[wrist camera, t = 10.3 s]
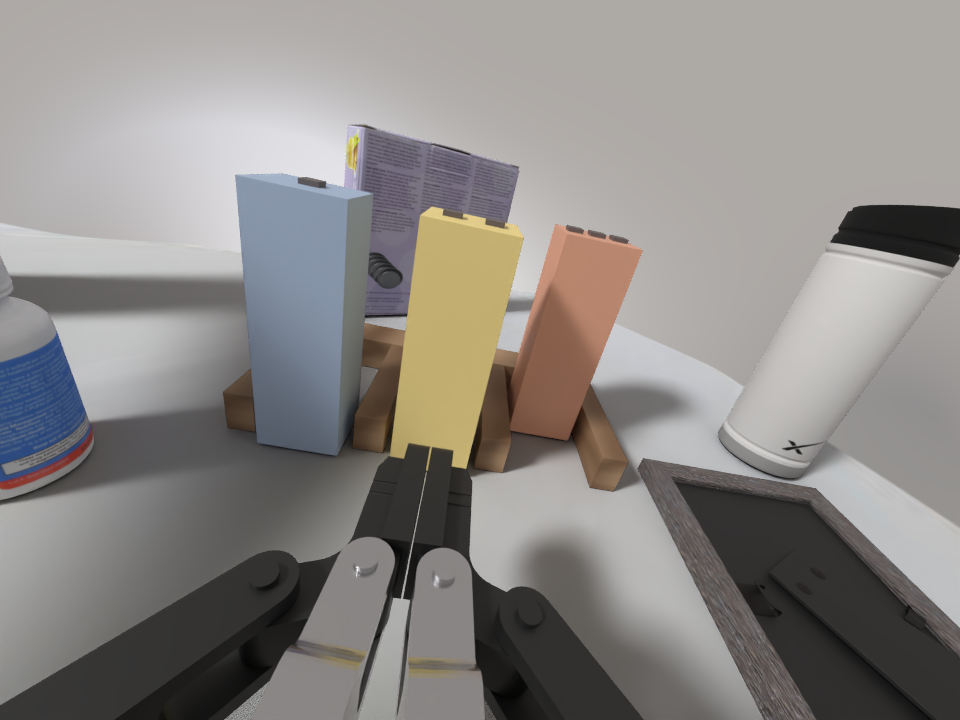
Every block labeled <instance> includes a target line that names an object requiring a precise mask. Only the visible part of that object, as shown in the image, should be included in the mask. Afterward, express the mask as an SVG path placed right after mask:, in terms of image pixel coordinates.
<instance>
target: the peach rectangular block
mask: <svg viewBox="0 0 960 720" xmlns="http://www.w3.org/2000/svg"><path fill="white" fill-rule="evenodd" d="M641 254H642V250H641V249H639V248H637V247H635V246H633V245H631V244H629V243H628V240H627V239H625V238H623V237H618V236H614V235H610V236H606V235H605V234H603V233H601V232H596V231H592V230H588V231H584V230H583V229H581V228H578V227H574V226H569V225H567V226H566V227H565V226H561V225H555V227H554V231H553V235H552V238H551V241H550V245H549V248H548V252H547V255H546V259H545V262H544V266H543V270H542V273H541V277H540V280H539V284H538V287H537V291H536V294H535V298H534V301H533V305H532V308H531V312H530V316H529V319H528V323H527V326H526V330H525V333H524V337H523V340H522V344H521V347H520V351H519V354H518V358H517V362H516V365H515V369H514V372H513V376H512V379H511V383H510V386H509V390H508V393H507V399H508V409H509V420H510V430H511V431H515V432H521V433H527V434H532V435H538V436H544V437H550V438H555V439H561V440H567V441H568V439H569V436H570V433H571V431H572V428H573V426H574V423H575V421H576V418H577V416H578V413H579V411H580V408H581V406H582V403H583V401H584V398H585V396H586V393H587V390H588V388H589V385H590V383H591V380H592V378H593V375H594V373H595V370H596V368H597V365H598V363H599V360H600V358H601V355H602V353H603V350H604V347H605V345H606V342H607V340H608V337H609V335H610V332H611V330H612V327H613V325H614V322H615V320H616V317H617V315H618V312H619V310H620V307H621V304H622V302H623V299H624V297H625V294H626V292H627V289H628V287H629V284H630V282H631V279H632V277H633V274H634V271H635V269H636V267H637V264H638V262H639V259H640V256H641Z"/></svg>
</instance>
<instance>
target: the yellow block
mask: <svg viewBox="0 0 960 720" xmlns="http://www.w3.org/2000/svg"><path fill="white" fill-rule="evenodd" d="M523 240H524V237H523V235H522V234H521V232H520V230H519V228H518V226H517V225H513V224H508V223H505V221H502V220H498V219H493V218H489V217H486V218H481V217H477V216H472V215H468V214H464V212H462V211H457V210H453V209H448V208H445V209H441V208H436V207H431V208H429V209H428V210H427V211H425V212H424V213H422V214H421V215H420V219H419V227H418V235H417V243H416V251H415V259H414V267H413V275H412V283H411V291H410V299H409V307H408V315H407V323H406V331H405V339H404V346H403V354H402V362H401V370H400V378H399V386H398V394H397V402H396V410H395V418H394V426H393V434H392V442H391V450H390V456H391V457H397V458H403V459H404V457H405V453H406V450H407V446H408V443H412V444H418V445H424V446H430V451H429V456H428V462H427V467H426V471H428V465H429V460H430V455H431V450H432V447H437V448H443V449H449V450H453V460H452V467H458V468H464V469H466V467H467V463H468V459H469V455H470V451H471V447H472V443H473V439H474V435H475V431H476V427H477V423H478V419H479V415H480V411H481V407H482V403H483V399H484V395H485V391H486V387H487V383H488V379H489V375H490V371H491V367H492V363H493V359H494V355H495V351H496V348H497V344H498V340H499V336H500V332H501V328H502V324H503V320H504V316H505V312H506V308H507V304H508V300H509V296H510V292H511V287H512V283H513V279H514V276H515V272H516V268H517V264H518V260H519V256H520V252H521V248H522V244H523Z"/></svg>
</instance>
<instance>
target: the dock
mask: <svg viewBox="0 0 960 720" xmlns="http://www.w3.org/2000/svg"><path fill="white" fill-rule="evenodd" d="M404 339H405V331H403V330H398V329H392V328H387V327H382V326H377V325H372V324H367V323H364V335H363V349H362V363H361V366H367V367H372V368H378V369H379V370H378V372H377V374H376V376H375V378H374V380H373V382H372V384H371V385H370V387H369V389H368V391H367V393H366V395H365V397H364V399H363V401H362V402H361V404H360V406H359V408H358V410H357V412H356V414H355V421H354V436H353V448H355V449H361V450H367V451H373V452H379V453H383V450H384V447H385V444H386V442H387V439H388V436H389V433H390V431H391V428H392V425H393V422H394V418H395V410H396V402H397V394H398V386H399V378H400V370H401V362H402V354H403V346H404ZM518 354H519V353H517V352H512V351H506V350H501V349H496V351H495V355H494V359H493V363H492V367H491V371H490V375H489V379H488V383H487V387H486V391H485V395H484V399H483V403H482V407H481V411H480V415H479V419H478V423H477V427H476V431H475V453H474V468H475V469H481V470H487V471H494V472H500V473H502V472H503V468H504V465H505V462H506V459H507V455H508V452H509V449H510V446H511V442H512V441H511V430H510V420H509V409H508V399H507V392H508V390H509V386H510V383H511V379H512V376H513V372H514V369H515V365H516V362H517V358H518ZM223 396H224V404H225V412H226V420H227V427H228V428H234V429H240V430H246V431H252V432H256V422H255V409H254V397H253V385H252V373H251V369H250V370H248V371H247V372H246V373H245V374H244V375H243V376H241V377H240V378H239V379H238V380H237V381H236V382H234V383H233V384H232V385H231V386H230V387H229V388H227V389H226V390H225V391H224V392H223ZM571 432H572V435H573V438H574V441H575V444H576V447H577V450H578V453H579V456H580V459H581V462H582V465H583V468H584V471H585V474H586V478H587V481H588V484H589V487H590V488H596V489H602V490H608V491H614V489H615V488H616V486H617V484H618V482H619V480H620V478H621V476H622V474H623V472H624V470H625V468H626V466H627V464H628V461H627V459H626V457H625V454H624V452H623V450H622V448H621V446H620V444H619V442H618V440H617V438H616V436H615V434H614V432H613V430H612V428H611V426H610V424H609V422H608V419H607V417H606V415H605V413H604V411H603V409H602V407H601V405H600V403H599V401H598V399H597V397H596V395H595V393H594V391H593V389H592V387H591V385H589V388H588V390H587V393H586V396H585V398H584V401H583V403H582V406H581V408H580V411H579V413H578V416H577V418H576V421H575V423H574V426H573V428H572V431H571Z"/></svg>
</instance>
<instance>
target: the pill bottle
mask: <svg viewBox="0 0 960 720" xmlns="http://www.w3.org/2000/svg"><path fill="white" fill-rule="evenodd" d="M12 291H13V285H12V279H11V277H10V276H9V274H8V272H7V269H6V267H5V265H4V263H3V260H2V258H1V256H0V500H3V499H8V498H12V497H15V496H18V495H22V494H25V493H28V492H30V491H33V490H36V489H38V488H40V487H42V486H45V485H47V484H49V483H51V482H53V481H55V480H57V479H58V478H60V477H62V476H64V475H65V474H67V473H68V472H70V471H71V470H73V469H74V468H75V467H77V466H78V465H79V464H80V463H81V462H82V461H83V460H84V459H85V458H86V457H87V456H88V454H89V453H90V452H91V450H92V448H93V445H94V435H93V431H92V427H91V425H90V422H89V419H88V417H87V414H86V411H85V408H84V406H83V403H82V400H81V397H80V394H79V391H78V389H77V386H76V383H75V380H74V378H73V375H72V372H71V369H70V367H69V364H68V361H67V359H66V356H65V353H64V350H63V347H62V345H61V342H60V339H59V336H58V333H57V331H56V328H55V326H54V324H53V321H52V319H51V317H50V316H49V314H48V313H47V312H46V311H45V310H44V309H42V308H41V307H39V306H38V305H36V304H34V303H31V302H29V301H26V300H23V299H19V298H15V297H10V296H8V295H9V294H10V293H11V292H12Z"/></svg>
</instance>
